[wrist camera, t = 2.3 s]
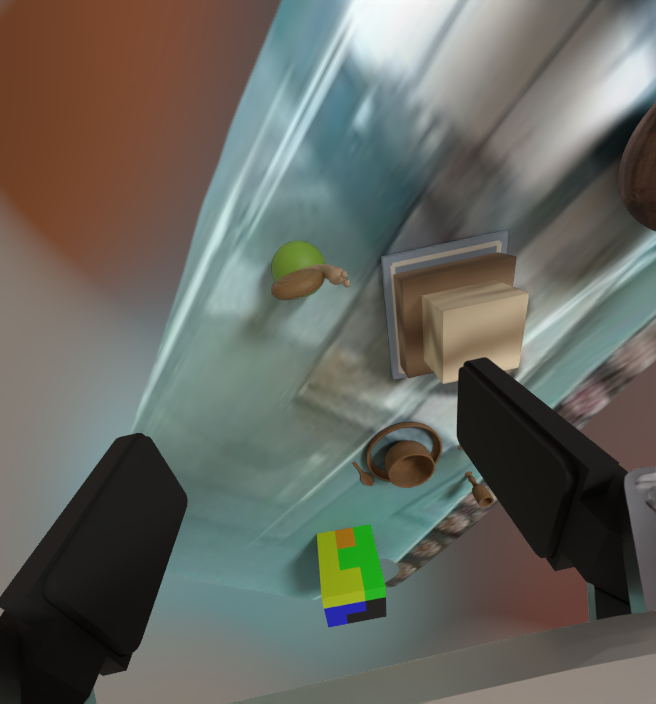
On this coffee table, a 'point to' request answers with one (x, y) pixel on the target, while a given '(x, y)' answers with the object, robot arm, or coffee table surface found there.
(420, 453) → the place setting
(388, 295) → the blueprint board
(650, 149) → the wooden sphere
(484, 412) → the robot arm
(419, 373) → the plinth
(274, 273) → the snail figurine
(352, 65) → the coffee table surface
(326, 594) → the puzzle toy
